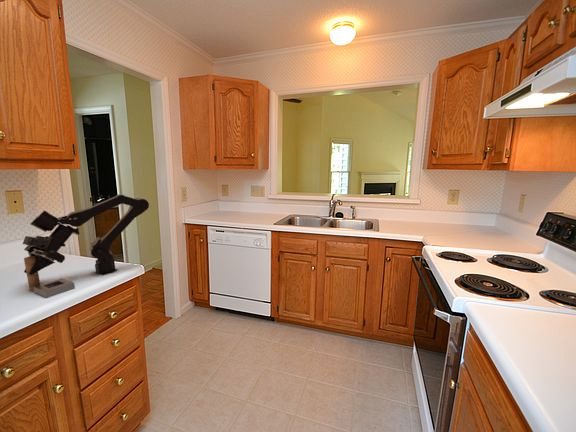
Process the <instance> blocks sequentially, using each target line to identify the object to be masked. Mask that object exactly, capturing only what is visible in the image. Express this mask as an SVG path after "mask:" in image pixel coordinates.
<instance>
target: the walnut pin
mask: <svg viewBox="0 0 576 432" xmlns="http://www.w3.org/2000/svg"><path fill="white" fill-rule="evenodd" d="M23 261H24V266H25V267H24V268H26V273H25V274H26V278H27V283H28V288H29V289H28V290H29V292H32V293H33V292H34V286H38V285H41V281H40V276H39V274H40V273H39V271H38V272H36V273H34V274H32V275H30V274H28V273H29V271H30V270H31V268H32V267H33V265H34V264H35V262H36V257H35V256H26V257H24V258H23ZM34 293H35V292H34Z"/></svg>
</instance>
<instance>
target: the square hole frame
mask: <svg viewBox="0 0 576 432" xmlns="http://www.w3.org/2000/svg"><path fill="white" fill-rule="evenodd" d="M75 288H76V287H75V282H74V281H71V280H68V279H65V278H62V277H61V278H57V279H55V280H51V281H47V282H45V283H40V285H38V286H34V294H36V295H38V296H41V297H44V298H45V299H47V298H50V297H54V296H57V295H60V294H61V293H64V292H68V291H72V290H74V289H75Z"/></svg>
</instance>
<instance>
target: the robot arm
mask: <svg viewBox="0 0 576 432" xmlns="http://www.w3.org/2000/svg"><path fill="white" fill-rule="evenodd" d="M122 204H123V205H126V206H129V207H128V209H127V211H126V213H124V215H123V216H122V217H121V218H120V219H119V220H118V221H117V222H116V223H115V224H114V225H113V226H112V228H110V229H109V231H108V232H107V233H106V234H105V235H104V236H102V237H101V238H100V237H99V236H96V238H95V239H94V241H93V242H91V243H90V247H89V251H90V255H91V256H92V257H93V258H95V263H94V268H95V271H94V273H95V274H98V275H102V276H105V275H107V274H111V273H113V272H117V271H118V269H117V268H116V263H115V257H114V254H113V253H112V251H111V250H110V249H111V246H112V245H113V243H114V242H115V240H116V239H117V238H118V237H119V236H120V235H121V234H122V233H123V232H124V230H125V229H126V228H127V227H129V225H130V224H131V223H132V222H133V221H134V220H135V218H137V217H139V216H140V215H142V214H144V213H145V212H146V211H147V210H148V209H149V208H150V207H149V206H150V205H149V204H150V203H149V202H148V200H147V199H145V198H141V197H136V198H133V197H131V196H130V197H129V196H127V195H124V194H122V193H118V194H117V195H115V196H113V197H111V198H108V199H106V200H104V201H102V202H99V203H96V204H95V205H92V206H90V207H87V208H83V209H82V208H81V209H78V210H75V211H71V212H69V213H68V214H67V215H64V216H63V215H62V216H60V217H57V216H55V215H53V214H51V213H50V212H48V211H47V210H43V211H41V213H39V215H37V216H36V217H35V218H34V219H33V220H32V221H31V222H30V223H29V225H31V226H33V227H35V228H37V229H38V230H41V231H42V232H45V233H46V232H51V234H49V235H47V236H42V235H41V236H40V235H36V236H29V235H28V236H27V235H25V237H24V238H23V239H24V240H23V242H22V245H26V246H25V248H23V250H24V251H26V252H27V254H28V257H30V256H35V257H36V262H35V264H34V265H33V267H32V268H31V270H30V271H29V273H28V274H30V275H32V274H34V273H36V272H38V273H39V272H40V271H41V270H43V269H45V268H47V267H49V266H51V265H53V264H55V263H56V262H57V263H59V264H62V263H63V262H64V261H65V260H66V256H65V255H63V254H62V253H60V252H59V250H60V249H61V248H63V247H65V246H66V245H67V244H66V242H67V241H68V240H69V238H70V237H71V236H72V235H73V234H74V235H76V236H77V235H80V228H78V227H80V226H83V225H84V224H85V223H87V222H89V221H90V220H91V219H93V218H94V217H95V216H97V215H100V214H102V213H105V212H107V211H109V210H110V209H112V208H115V207H117V206H120V205H122ZM76 227H77V228H76ZM55 261H56V262H55ZM24 268H25V267H24ZM23 273H25V274H27V273H26V268H25V269H24V270H23Z"/></svg>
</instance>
